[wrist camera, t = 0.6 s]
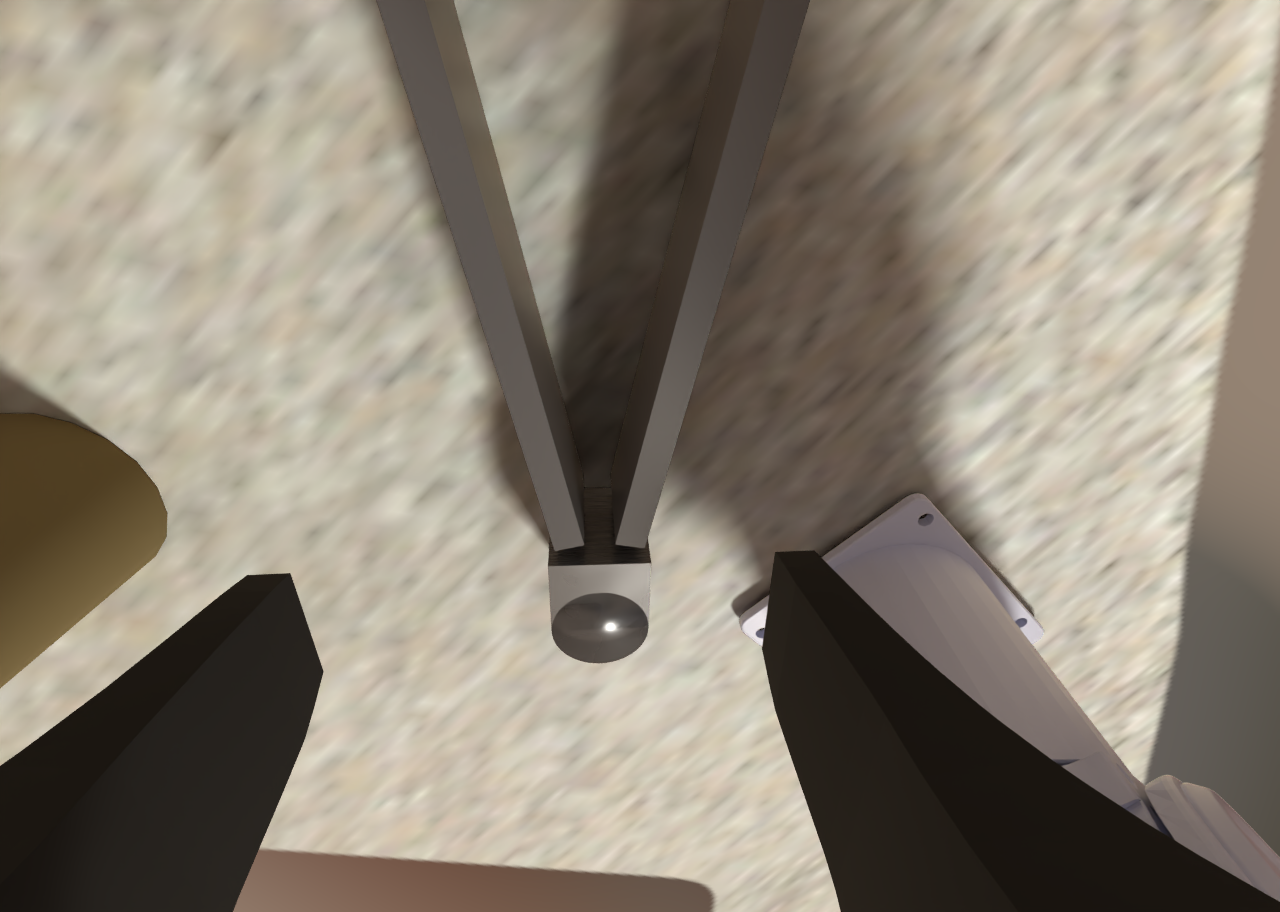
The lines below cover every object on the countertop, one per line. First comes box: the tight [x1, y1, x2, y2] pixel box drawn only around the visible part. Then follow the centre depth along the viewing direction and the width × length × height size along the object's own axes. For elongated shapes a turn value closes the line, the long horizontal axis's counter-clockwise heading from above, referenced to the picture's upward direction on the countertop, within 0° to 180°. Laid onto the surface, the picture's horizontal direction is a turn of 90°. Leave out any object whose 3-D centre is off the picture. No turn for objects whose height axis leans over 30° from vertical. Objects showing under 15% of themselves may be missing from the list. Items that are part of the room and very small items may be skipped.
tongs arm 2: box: [377, 0, 584, 551], centre depth 15 cm, size 17×1×4 cm, turn 11°
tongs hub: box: [548, 488, 651, 663], centre depth 21 cm, size 4×3×4 cm
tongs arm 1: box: [610, 0, 810, 548], centre depth 15 cm, size 17×1×4 cm, turn 167°
